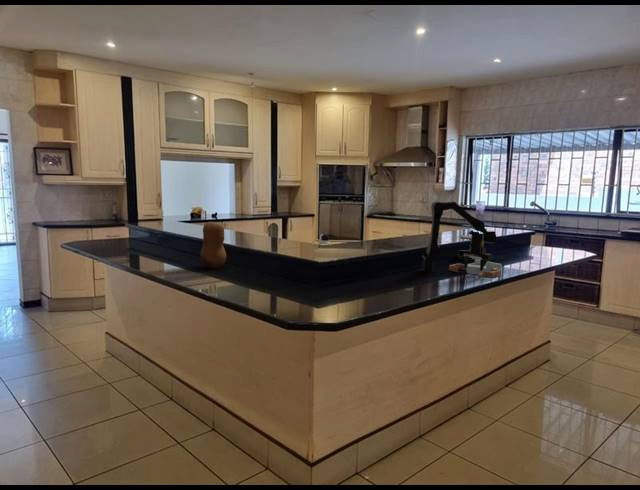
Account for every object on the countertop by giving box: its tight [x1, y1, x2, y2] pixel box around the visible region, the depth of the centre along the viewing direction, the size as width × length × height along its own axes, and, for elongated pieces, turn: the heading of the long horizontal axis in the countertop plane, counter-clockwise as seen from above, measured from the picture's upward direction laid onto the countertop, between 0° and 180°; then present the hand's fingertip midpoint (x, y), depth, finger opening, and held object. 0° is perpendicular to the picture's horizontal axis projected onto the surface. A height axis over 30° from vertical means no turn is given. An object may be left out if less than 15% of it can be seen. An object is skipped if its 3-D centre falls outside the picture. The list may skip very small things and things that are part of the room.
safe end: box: [474, 259, 503, 272], centre depth 269 cm, size 1×16×5 cm, turn 41°
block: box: [466, 263, 487, 275], centre depth 259 cm, size 6×10×4 cm, turn 67°
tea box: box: [460, 234, 485, 260], centre depth 305 cm, size 15×10×15 cm, turn 73°
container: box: [317, 233, 331, 245], centre depth 298 cm, size 8×8×13 cm
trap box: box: [448, 262, 502, 279], centre depth 262 cm, size 22×24×3 cm
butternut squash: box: [200, 221, 227, 269], centre depth 244 cm, size 14×13×25 cm
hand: (473, 269), depth 258 cm, fingers open, 9 cm apart
